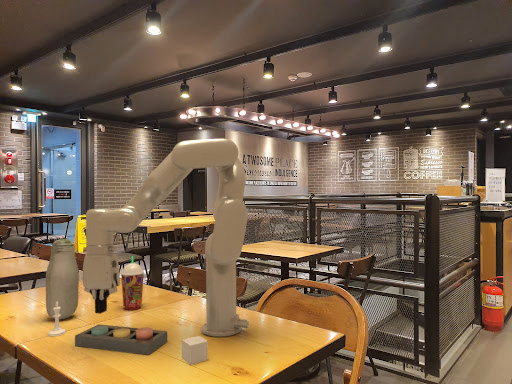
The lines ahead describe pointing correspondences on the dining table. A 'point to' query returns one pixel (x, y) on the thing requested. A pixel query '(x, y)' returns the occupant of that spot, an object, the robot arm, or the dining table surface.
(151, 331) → the brick button
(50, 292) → the grey bottle
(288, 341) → the dining table surface
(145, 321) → the dining table surface
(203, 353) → the white cube
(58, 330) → the chess piece
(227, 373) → the dining table surface
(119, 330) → the mustard button
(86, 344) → the button panel
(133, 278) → the smoothie
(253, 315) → the dining table surface
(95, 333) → the teal button
